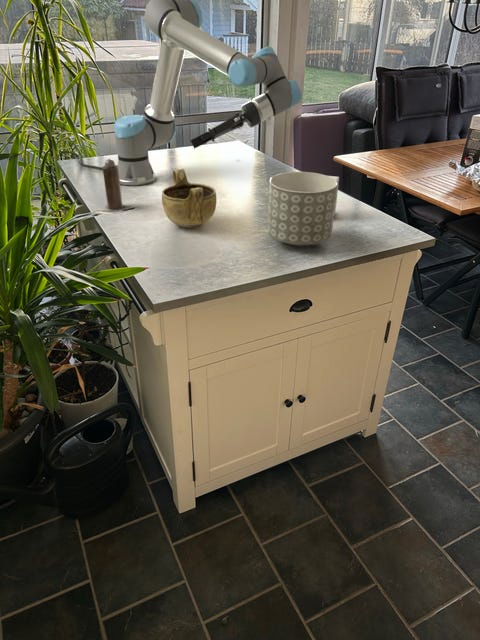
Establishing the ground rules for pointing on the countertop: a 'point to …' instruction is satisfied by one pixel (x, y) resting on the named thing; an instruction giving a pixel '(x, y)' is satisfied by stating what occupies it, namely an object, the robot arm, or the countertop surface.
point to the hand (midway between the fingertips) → (192, 144)
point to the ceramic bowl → (188, 201)
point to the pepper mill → (112, 185)
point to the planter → (301, 208)
